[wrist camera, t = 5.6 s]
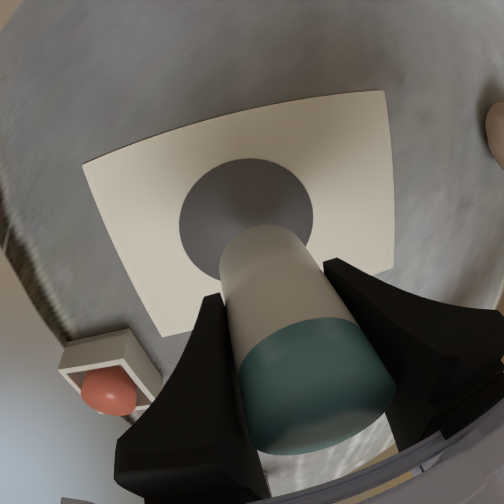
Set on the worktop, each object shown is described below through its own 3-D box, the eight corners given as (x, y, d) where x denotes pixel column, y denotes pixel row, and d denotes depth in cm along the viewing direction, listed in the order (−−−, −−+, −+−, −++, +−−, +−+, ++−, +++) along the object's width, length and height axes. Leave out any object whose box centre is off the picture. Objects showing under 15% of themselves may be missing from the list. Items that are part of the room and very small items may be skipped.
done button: (120, 358, 18) (116, 380, 17) (147, 392, 20) (145, 412, 19) (75, 366, 18) (69, 386, 16) (104, 398, 20) (101, 417, 18)
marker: (299, 213, 13) (407, 349, 6) (310, 287, 15) (385, 423, 8) (207, 239, 12) (230, 410, 5) (232, 310, 14) (265, 465, 7)
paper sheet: (383, 90, 15) (384, 90, 15) (392, 267, 21) (393, 268, 21) (82, 164, 14) (81, 165, 14) (162, 336, 20) (162, 338, 20)
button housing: (129, 327, 20) (123, 358, 17) (162, 377, 23) (161, 406, 20) (67, 341, 19) (57, 369, 17) (104, 387, 22) (100, 414, 20)
